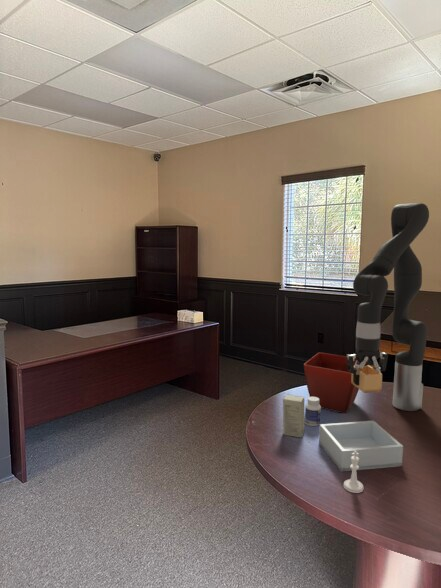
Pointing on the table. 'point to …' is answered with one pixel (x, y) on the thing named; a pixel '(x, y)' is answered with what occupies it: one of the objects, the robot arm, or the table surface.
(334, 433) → the big crate
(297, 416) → the skincare box
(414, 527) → the table surface
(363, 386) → the small crate
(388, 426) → the table surface
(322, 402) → the plant pot
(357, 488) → the chess piece
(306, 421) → the pill bottle
